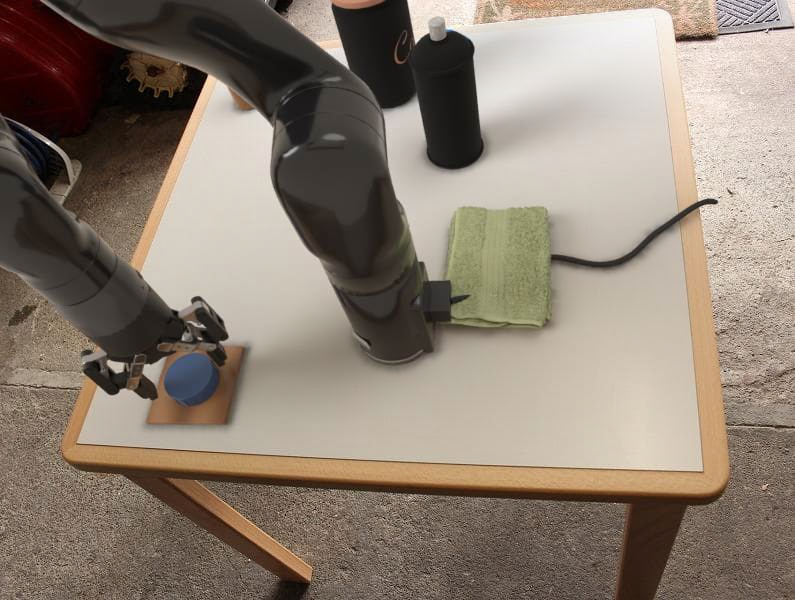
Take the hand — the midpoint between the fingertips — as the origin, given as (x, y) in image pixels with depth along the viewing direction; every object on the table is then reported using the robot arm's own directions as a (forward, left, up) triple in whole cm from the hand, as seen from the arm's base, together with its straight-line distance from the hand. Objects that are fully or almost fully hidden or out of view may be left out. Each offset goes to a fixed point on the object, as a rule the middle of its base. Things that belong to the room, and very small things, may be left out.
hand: (188, 376), depth 72 cm
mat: (0, 0, -2) cm, 2 cm away
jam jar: (+5, -53, -2) cm, 53 cm away
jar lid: (0, 0, 0) cm, 0 cm away
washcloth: (-36, -15, -3) cm, 39 cm away
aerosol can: (-30, -37, -3) cm, 48 cm away
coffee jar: (-19, -52, -3) cm, 55 cm away
